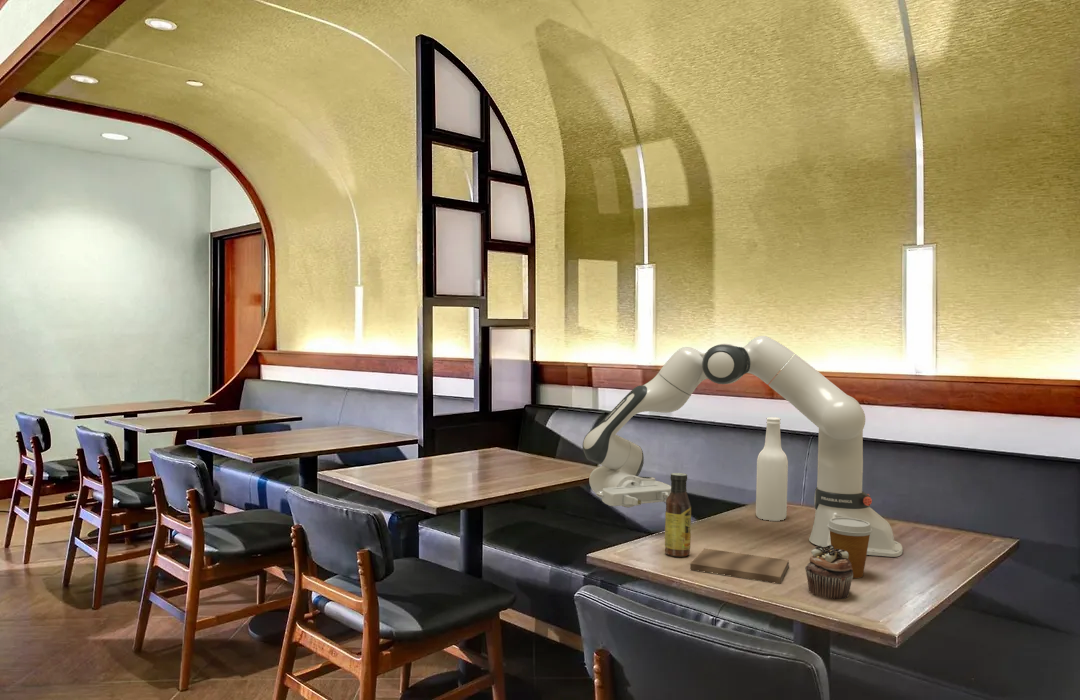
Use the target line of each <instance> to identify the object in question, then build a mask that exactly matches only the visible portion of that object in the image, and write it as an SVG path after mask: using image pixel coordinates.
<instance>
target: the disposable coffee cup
mask: <svg viewBox="0 0 1080 700" xmlns="http://www.w3.org/2000/svg"><path fill="white" fill-rule="evenodd" d="M827 526H828V528H829V530H830V539H831V545H832V546H834V550H835V549H841V550H843V549H844V551H847V552H848V554H849V557H848V559H849V560H850V562H851V565H852V570H853V578H852V579H859V578H862V577H863V576H864V571H865V567H866V560H867V555H866V554H867V548H868V542H869V536H870V534H871V532H872V529H871V527H870V523H869V522H866V521H864V520H860V519H854V518H842V517H840V518H832V519H830V521H829V524H828V525H827Z"/></svg>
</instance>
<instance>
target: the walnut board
mask: <svg viewBox="0 0 1080 700" xmlns="http://www.w3.org/2000/svg"><path fill="white" fill-rule="evenodd" d="M789 566H790V560H789V559H783V558H776V557H769V556H762V555H756V554H755V555H754V554H746V553H741V552H734V551H726V550H717V549H711V548H703V550H701V552H700V553H699V554H698V555H697V556H696V557H695V558H694V559H693V560H692V561H691V562H690V568H689V569H691V570H690V571H693V570H699V571H698V572H700V571H705V572H704V573H706V572H713V573H718V574H717V575H719V574H725V575H724V576H726V575H731V576H730V577H732V576H736V577H735V578H739V577H742V578H741V579H745V578H749V579H748V580H752V579H755V580H754V581H758V580H762V581H761V582H765V581H768V582H767V583H772V582H775V583H774V584H778V583H780V584H781V583H782V581H783V579H784V577H785V575H786V573H787V571H788V569H789ZM713 573H712V574H713Z"/></svg>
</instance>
